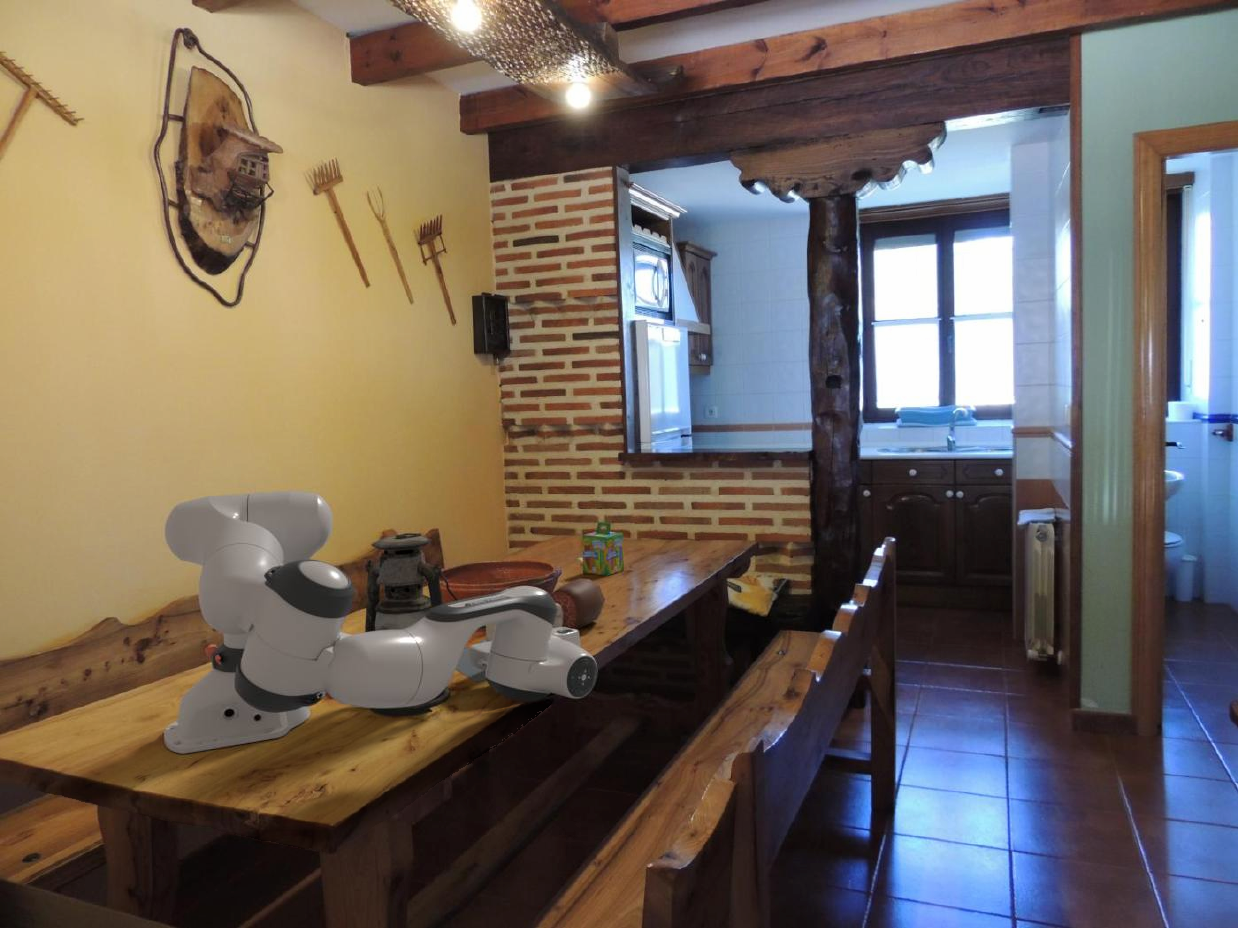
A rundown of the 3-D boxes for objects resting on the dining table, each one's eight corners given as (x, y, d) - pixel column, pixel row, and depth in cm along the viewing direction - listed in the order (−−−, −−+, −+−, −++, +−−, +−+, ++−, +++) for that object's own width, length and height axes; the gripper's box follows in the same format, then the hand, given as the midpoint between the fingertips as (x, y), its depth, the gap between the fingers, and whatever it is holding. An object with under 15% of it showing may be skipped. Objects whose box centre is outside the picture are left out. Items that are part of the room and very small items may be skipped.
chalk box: (582, 573, 260) (580, 524, 259) (600, 568, 268) (598, 519, 267) (607, 576, 255) (605, 526, 254) (625, 570, 262) (623, 521, 261)
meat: (578, 641, 191) (576, 595, 190) (532, 637, 196) (529, 592, 194) (616, 616, 209) (614, 574, 208) (573, 613, 214) (571, 572, 213)
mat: (476, 685, 164) (476, 682, 164) (432, 657, 182) (432, 654, 182) (551, 667, 172) (551, 664, 172) (503, 642, 191) (502, 640, 191)
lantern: (340, 710, 153) (329, 540, 151) (405, 675, 171) (396, 523, 168) (432, 721, 146) (422, 543, 144) (489, 684, 164) (481, 525, 162)
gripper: (487, 684, 154) (456, 665, 166) (587, 661, 165) (551, 645, 177) (485, 649, 153) (454, 632, 165) (586, 628, 165) (550, 614, 176)
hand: (505, 638), depth 171 cm, fingers open, 8 cm apart
